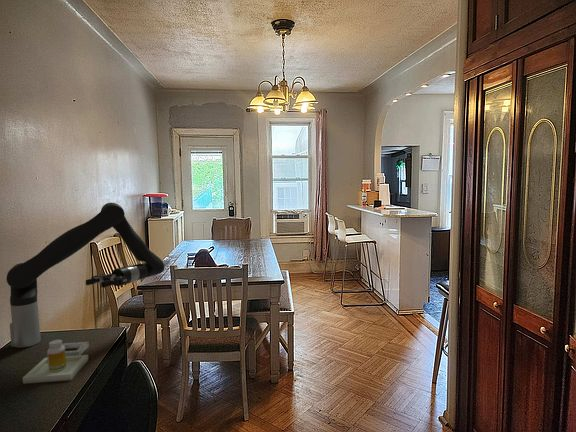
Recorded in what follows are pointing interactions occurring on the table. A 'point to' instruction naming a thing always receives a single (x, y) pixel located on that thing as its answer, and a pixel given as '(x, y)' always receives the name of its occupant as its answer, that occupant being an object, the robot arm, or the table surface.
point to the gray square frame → (80, 345)
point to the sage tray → (44, 375)
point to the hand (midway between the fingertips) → (93, 283)
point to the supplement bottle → (56, 356)
